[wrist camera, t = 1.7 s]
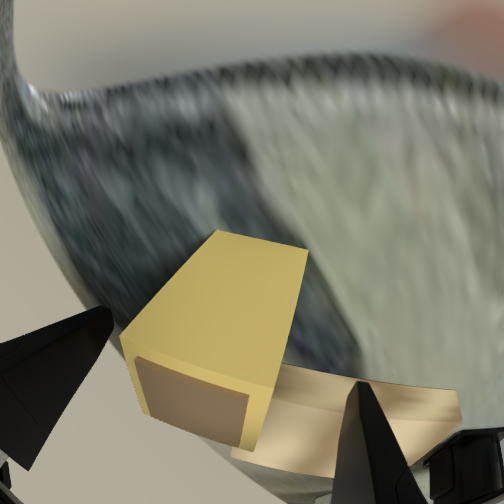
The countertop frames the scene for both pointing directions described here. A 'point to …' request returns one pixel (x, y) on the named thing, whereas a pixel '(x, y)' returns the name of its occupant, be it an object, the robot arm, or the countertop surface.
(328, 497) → the syrup box
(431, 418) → the cutting board
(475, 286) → the countertop surface
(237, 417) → the mustard block
